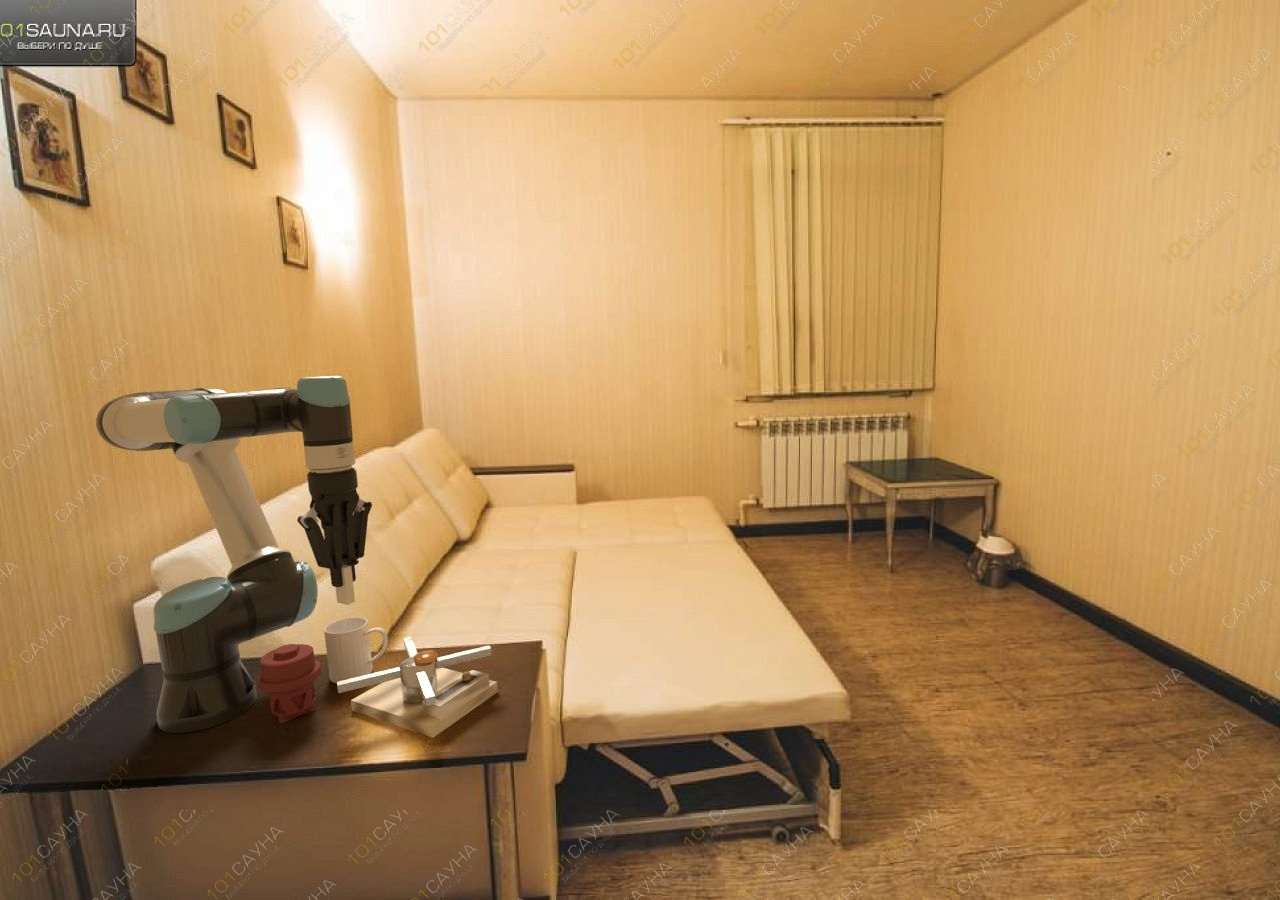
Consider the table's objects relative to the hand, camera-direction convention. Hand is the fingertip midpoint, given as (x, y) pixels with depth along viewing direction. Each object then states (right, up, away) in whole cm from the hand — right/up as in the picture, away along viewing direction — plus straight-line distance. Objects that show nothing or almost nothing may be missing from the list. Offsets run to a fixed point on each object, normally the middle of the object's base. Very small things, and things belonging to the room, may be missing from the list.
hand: (346, 602), depth 112 cm
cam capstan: (+12, -17, +3) cm, 21 cm away
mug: (-5, -19, +17) cm, 26 cm away
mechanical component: (-11, -21, +4) cm, 24 cm away
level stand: (+12, -20, +6) cm, 24 cm away
